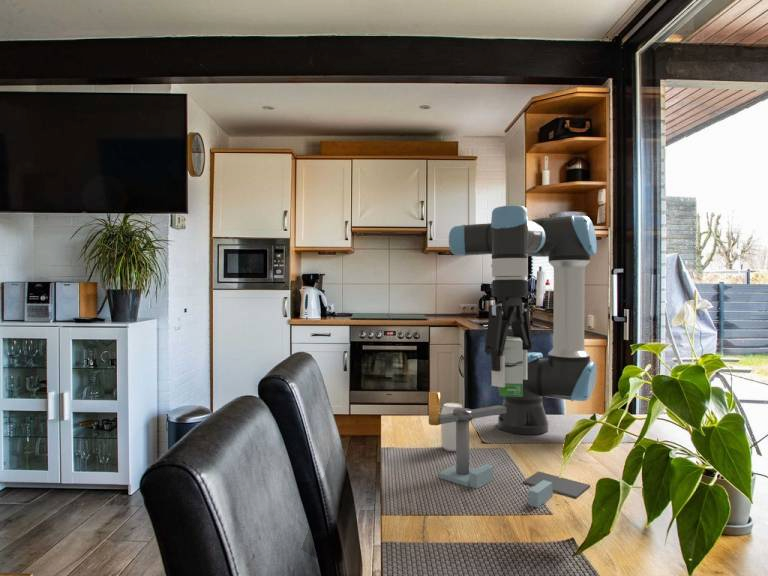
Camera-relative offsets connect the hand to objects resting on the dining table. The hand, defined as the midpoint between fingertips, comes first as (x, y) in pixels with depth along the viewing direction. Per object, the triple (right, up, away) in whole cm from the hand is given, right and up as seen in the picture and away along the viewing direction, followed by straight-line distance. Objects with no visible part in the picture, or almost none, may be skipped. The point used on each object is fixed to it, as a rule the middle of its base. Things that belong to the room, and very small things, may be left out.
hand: (510, 382), depth 107 cm
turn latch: (-8, -10, +9) cm, 15 cm away
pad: (+11, -23, +3) cm, 26 cm away
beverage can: (-9, -24, +28) cm, 37 cm away
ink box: (0, -2, 0) cm, 2 cm away
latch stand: (-3, -23, +3) cm, 24 cm away
